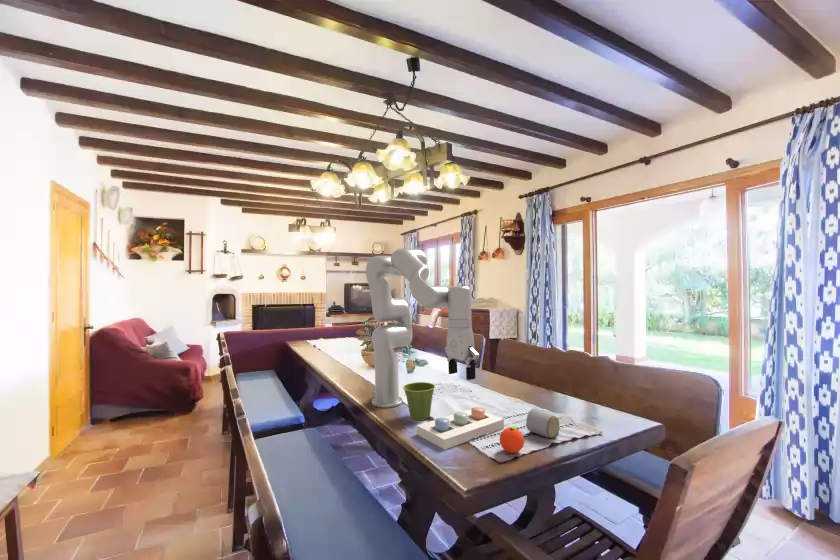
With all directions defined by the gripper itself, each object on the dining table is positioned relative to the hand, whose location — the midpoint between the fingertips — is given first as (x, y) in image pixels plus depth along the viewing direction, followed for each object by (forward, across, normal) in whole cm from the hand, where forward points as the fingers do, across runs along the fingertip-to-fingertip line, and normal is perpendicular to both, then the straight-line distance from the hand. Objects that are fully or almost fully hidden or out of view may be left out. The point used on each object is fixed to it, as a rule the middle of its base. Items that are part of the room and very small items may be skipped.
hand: (461, 376), depth 125 cm
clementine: (+19, +18, +4) cm, 27 cm away
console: (+19, -2, 0) cm, 19 cm away
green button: (+16, -2, 0) cm, 16 cm away
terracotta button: (+16, -3, +8) cm, 19 cm away
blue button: (+16, -1, -7) cm, 18 cm away
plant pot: (+18, -20, -5) cm, 28 cm away
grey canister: (+19, +14, +22) cm, 33 cm away
